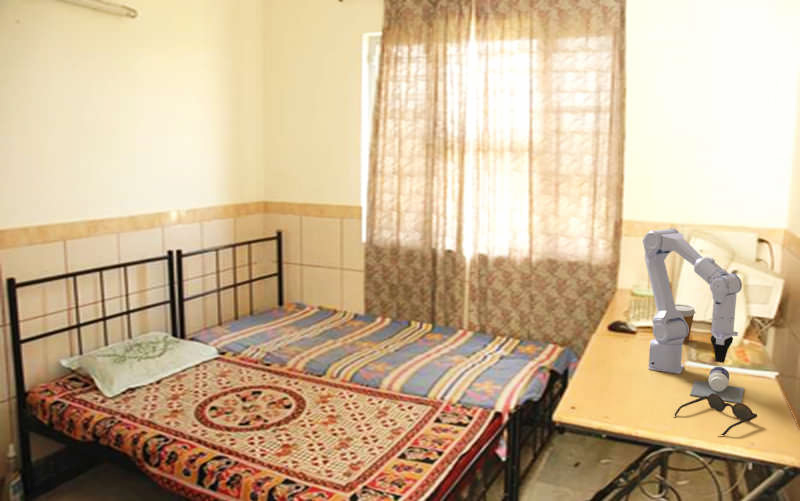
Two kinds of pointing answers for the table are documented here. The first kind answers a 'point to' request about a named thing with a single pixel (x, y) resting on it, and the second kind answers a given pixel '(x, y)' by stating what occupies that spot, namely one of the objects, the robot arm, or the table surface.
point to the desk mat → (727, 394)
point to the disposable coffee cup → (686, 316)
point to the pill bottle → (718, 378)
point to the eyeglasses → (718, 404)
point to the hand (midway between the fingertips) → (720, 361)
